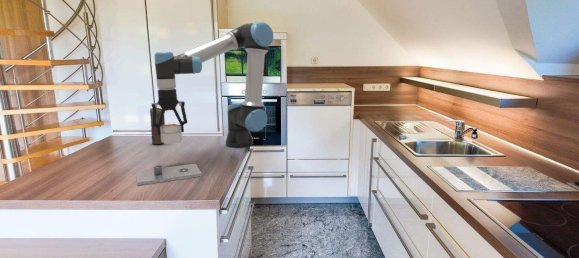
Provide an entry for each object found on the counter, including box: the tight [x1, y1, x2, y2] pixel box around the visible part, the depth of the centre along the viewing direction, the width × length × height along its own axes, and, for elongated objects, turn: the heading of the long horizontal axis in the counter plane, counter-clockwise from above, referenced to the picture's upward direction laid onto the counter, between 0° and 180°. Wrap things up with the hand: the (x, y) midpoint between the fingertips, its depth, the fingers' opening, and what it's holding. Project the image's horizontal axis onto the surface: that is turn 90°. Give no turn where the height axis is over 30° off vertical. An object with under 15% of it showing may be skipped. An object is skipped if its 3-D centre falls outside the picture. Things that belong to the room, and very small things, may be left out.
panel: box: [136, 163, 203, 187], centre depth 135 cm, size 24×14×4 cm, turn 116°
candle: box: [149, 107, 166, 145], centre depth 183 cm, size 8×7×20 cm
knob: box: [162, 123, 182, 145], centre depth 145 cm, size 7×7×8 cm
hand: (171, 140), depth 146 cm, fingers closed on knob, 7 cm apart
